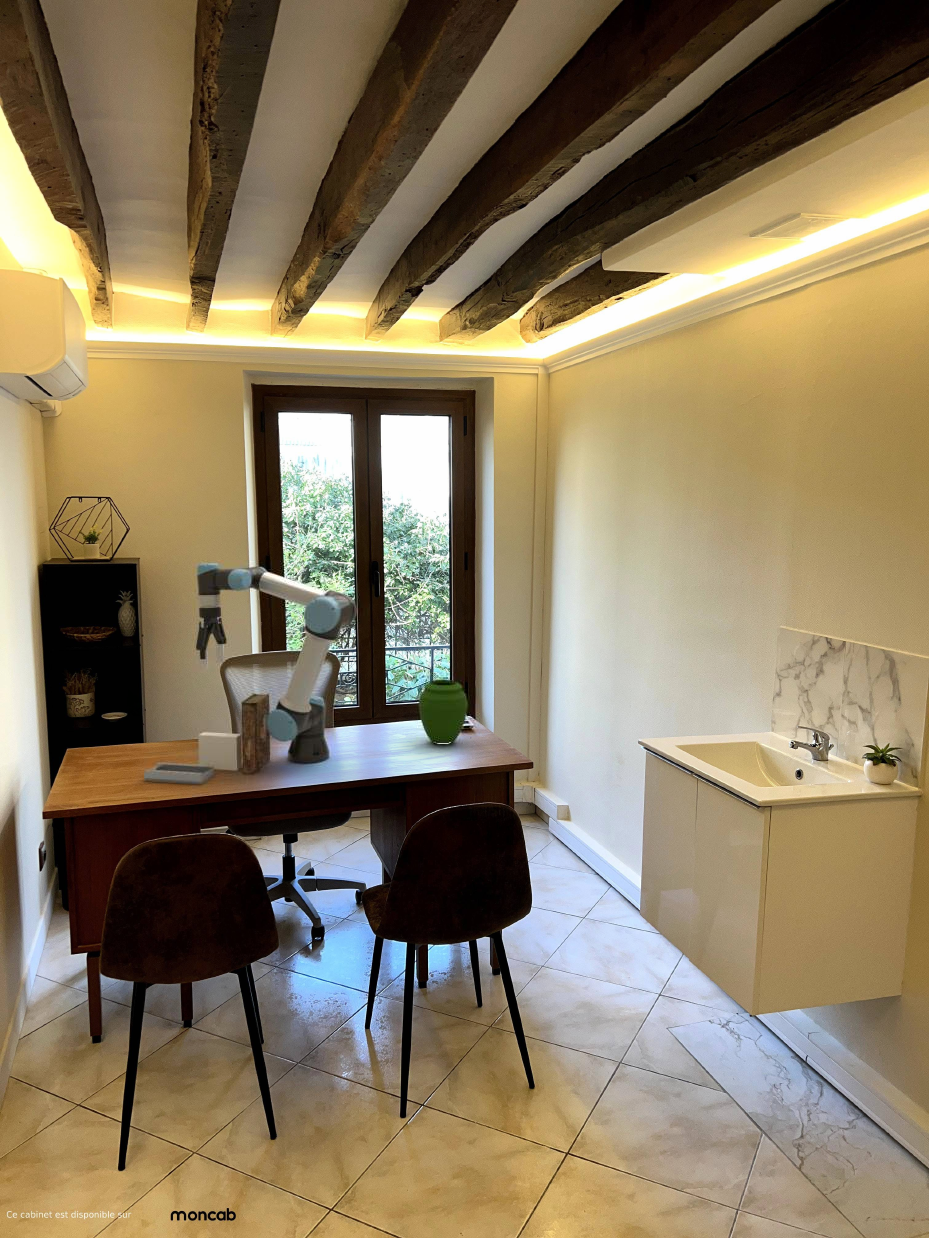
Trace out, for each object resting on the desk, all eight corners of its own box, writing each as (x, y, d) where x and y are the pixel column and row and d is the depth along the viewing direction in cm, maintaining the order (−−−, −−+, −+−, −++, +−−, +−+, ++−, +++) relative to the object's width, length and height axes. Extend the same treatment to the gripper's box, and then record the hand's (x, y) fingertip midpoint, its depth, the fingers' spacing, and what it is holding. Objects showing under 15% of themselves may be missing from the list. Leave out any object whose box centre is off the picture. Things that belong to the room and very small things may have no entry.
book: (257, 774, 281) (256, 703, 278) (241, 774, 281) (240, 702, 278) (270, 760, 297) (269, 693, 294) (255, 760, 297) (254, 692, 294)
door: (242, 766, 289) (241, 733, 288) (236, 770, 285) (236, 737, 283) (205, 764, 291) (204, 731, 290) (199, 768, 287) (198, 734, 285)
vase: (416, 736, 333) (417, 677, 330) (464, 735, 335) (465, 677, 332) (419, 749, 314) (420, 687, 311) (469, 749, 316) (470, 687, 313)
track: (214, 775, 278) (213, 765, 278) (201, 784, 269) (200, 774, 269) (159, 772, 281) (159, 762, 281) (144, 780, 272) (144, 770, 271)
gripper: (214, 603, 305) (217, 659, 307) (183, 609, 281) (186, 670, 283) (234, 603, 304) (236, 659, 307) (204, 609, 280) (207, 671, 282)
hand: (212, 665), depth 295 cm, fingers open, 13 cm apart
